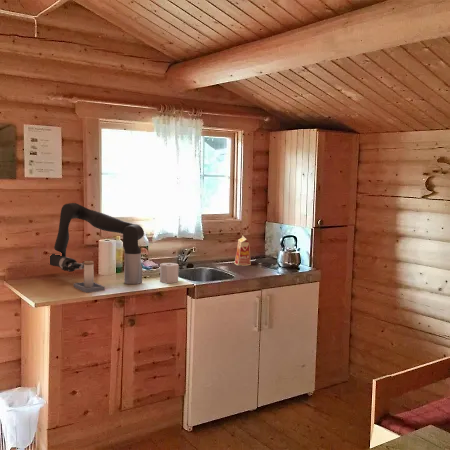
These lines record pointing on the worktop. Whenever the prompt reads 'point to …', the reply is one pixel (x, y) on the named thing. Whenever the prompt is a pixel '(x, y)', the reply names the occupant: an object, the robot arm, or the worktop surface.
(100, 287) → the dish
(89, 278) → the canister
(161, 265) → the toilet tissue
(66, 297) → the worktop surface
